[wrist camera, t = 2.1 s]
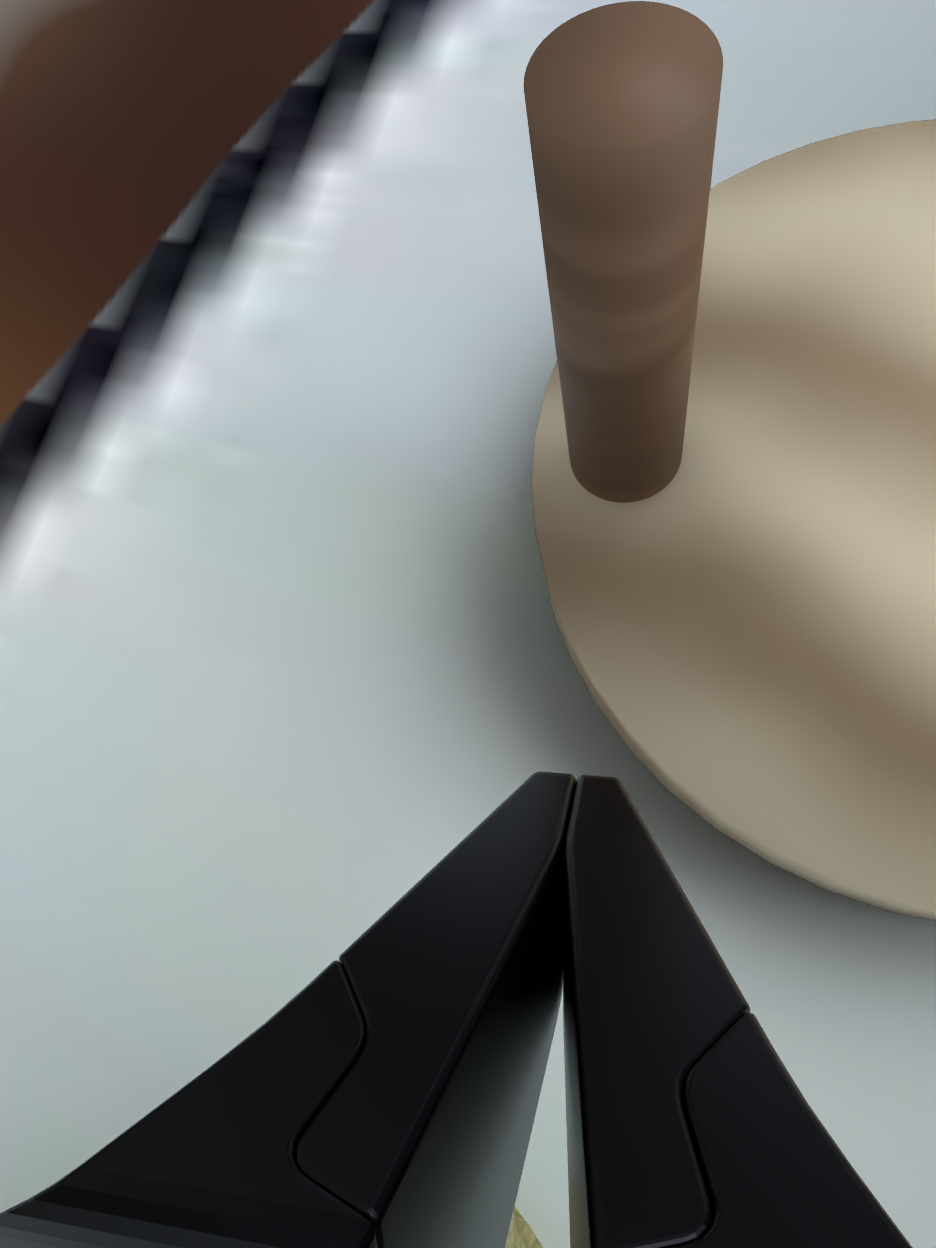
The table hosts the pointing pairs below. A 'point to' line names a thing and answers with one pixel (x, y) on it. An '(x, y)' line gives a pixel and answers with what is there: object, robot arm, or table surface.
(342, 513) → the table surface
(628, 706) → the disc
